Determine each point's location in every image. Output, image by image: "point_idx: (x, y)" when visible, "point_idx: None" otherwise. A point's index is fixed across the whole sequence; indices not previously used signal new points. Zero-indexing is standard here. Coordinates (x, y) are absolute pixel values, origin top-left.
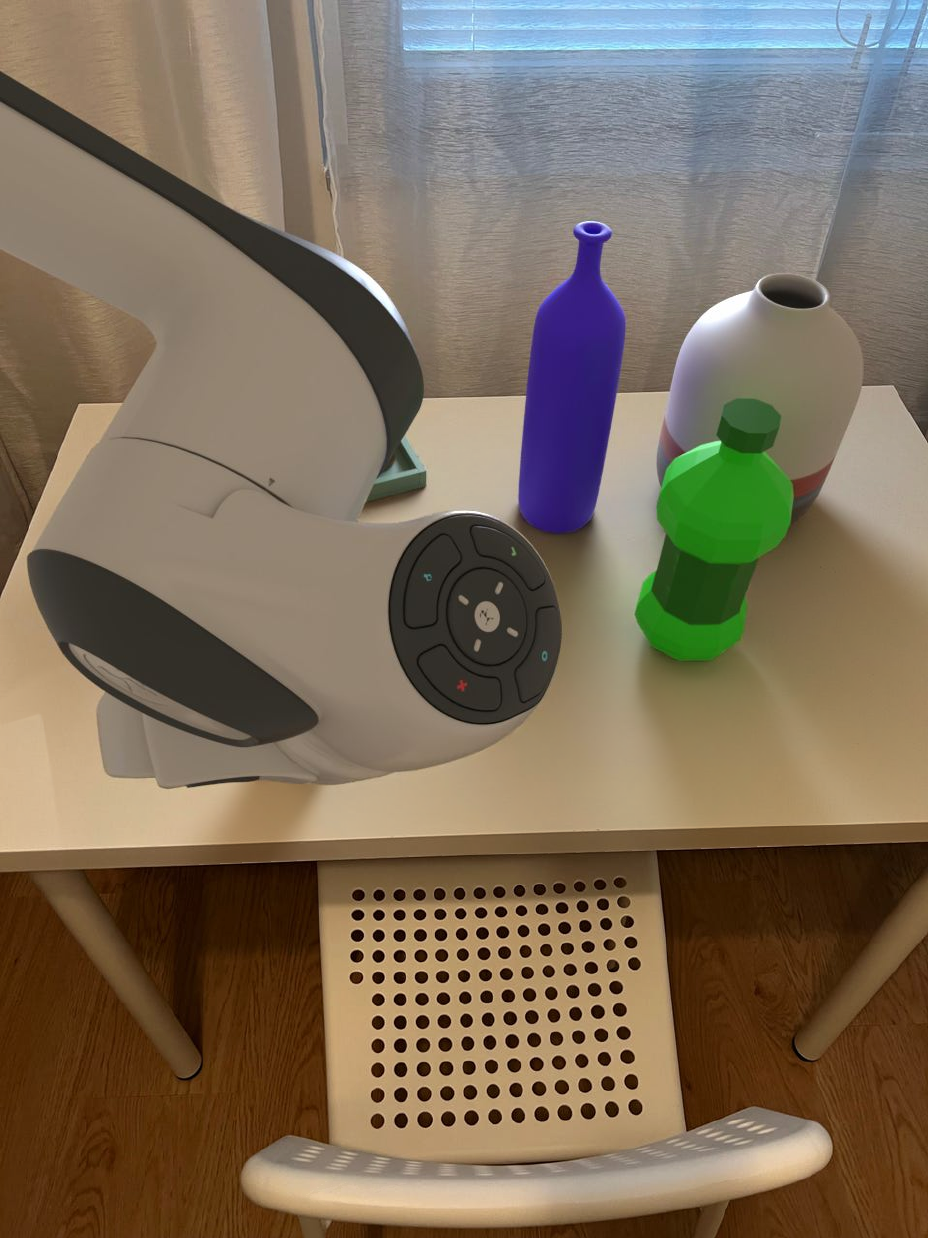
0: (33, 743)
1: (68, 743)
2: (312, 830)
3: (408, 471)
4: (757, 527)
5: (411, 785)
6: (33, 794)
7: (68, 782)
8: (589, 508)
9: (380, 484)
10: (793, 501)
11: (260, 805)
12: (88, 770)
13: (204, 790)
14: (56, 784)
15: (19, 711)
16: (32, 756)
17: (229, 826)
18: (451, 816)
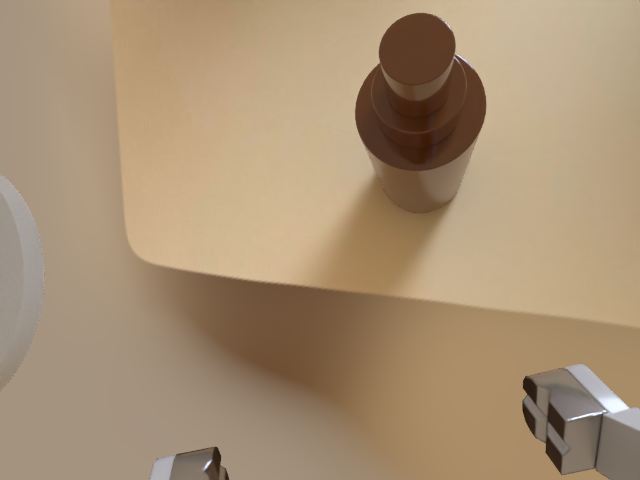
0: (139, 146)
1: (169, 149)
2: (418, 294)
3: None
4: None
5: (547, 252)
6: (142, 206)
7: (172, 196)
8: None
9: None
10: None
11: (361, 252)
12: (189, 184)
13: (302, 224)
14: (161, 197)
15: (124, 106)
16: (139, 161)
17: (327, 273)
18: (597, 305)
